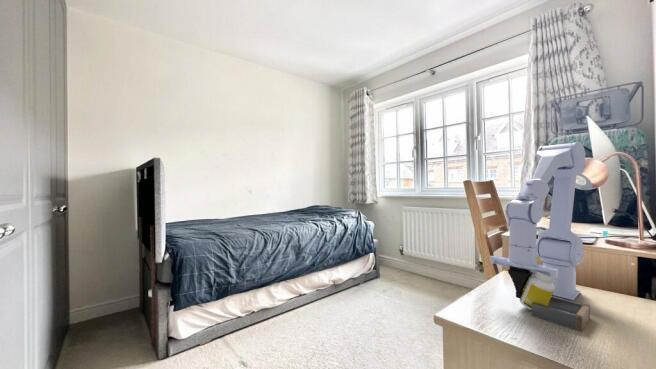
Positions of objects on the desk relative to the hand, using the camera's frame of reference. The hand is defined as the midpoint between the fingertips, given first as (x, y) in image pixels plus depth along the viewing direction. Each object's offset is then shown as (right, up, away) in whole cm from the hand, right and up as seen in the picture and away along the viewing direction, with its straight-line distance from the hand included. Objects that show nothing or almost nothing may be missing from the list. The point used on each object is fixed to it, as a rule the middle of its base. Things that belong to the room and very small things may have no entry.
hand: (520, 297), depth 70 cm
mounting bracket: (+6, -2, -5) cm, 8 cm away
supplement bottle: (+2, -2, -1) cm, 3 cm away
